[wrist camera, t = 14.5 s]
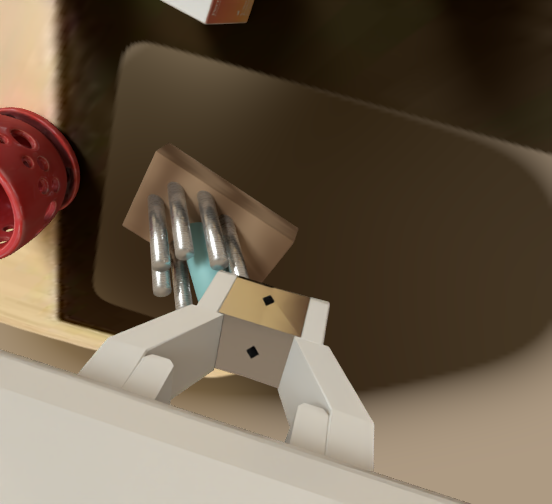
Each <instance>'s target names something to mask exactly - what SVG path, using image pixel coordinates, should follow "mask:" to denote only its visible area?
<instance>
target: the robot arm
mask: <svg viewBox="0 0 552 504" xmlns="http://www.w3.org/2000/svg"><path fill="white" fill-rule="evenodd" d="M329 306H330V304H329V302H327V301H323V300H319V299H316V298H312V297H311V298H310V297H306V296H303V295H299V294H296V293H293V292H289V291H286V290H282V289H279V288H276V287H273V286H270V285H267V284H264V283H261V282H258V281H255V280H252V279H249V278H246V277H242V276H238V275H236V274H233V273H229V272H226V271H223V270H220V271H218V272H217V274H216V275H215V277H214V278H213V280H212V282H211V283H210V285H209V286H208V288H207V290H206V291H205V293H204V295H203V296H202V298H201V299H200V301H199V303H198V304H197V306H195V305H192V304H191V305H188V306H186V307H183V308H181V309H178V310H176V311H173V312H171V313H168V314H166V315H163V316H161V317H158V318H156V319H153V320H151V321H149V322H146V323H144V324H141V325H139V326H136V327H134V328H131V329H129V330H126V331H124V332H121V333H119V334H116V335H114V336H111V337H109V338H107V339H106V341H105V342H104V343H103V344H102V345H101V347H100V348H99V349H98V350H97V351H96V353H95V354H94V355H93V356H92V357H91V359H90V360H89V361H88V362H87V363H86V365H85V366H84V367H83V368H82V369H81V371H80V372H79V373H78V374H75V373H72V372H69V371H66V370H63V369H59V368H56V367H53V366H50V365H48V364H44V363H42V362H38V361H35V360H32V359H29V358H26V357H23V356H20V355H17V354H14V353H11V352H8V351H5V350H2V349H0V504H470V503H467V502H464V501H460V500H458V499H455V498H451V497H449V496H445V495H442V494H439V493H436V492H433V491H430V490H427V489H424V488H421V487H418V486H415V485H412V484H409V483H406V482H403V481H400V480H397V479H394V478H390V477H388V476H384V475H381V474H378V473H375V472H374V423H373V421H372V419H371V418H370V416H369V414H368V412H367V411H366V409H365V408H364V406H363V404H362V402H361V401H360V399H359V397H358V396H357V394H356V392H355V391H354V389H353V387H352V385H351V384H350V382H349V380H348V379H347V377H346V375H345V374H344V372H343V370H342V368H341V367H340V365H339V363H338V362H337V360H336V358H335V357H334V355H333V353H332V351H331V350H330V348H329V347H328V346H325V345H323V343H324V337H325V330H326V325H327V319H328V313H329ZM214 368H216V369H220V370H223V371H227V372H230V373H234V374H237V375H241V376H244V377H247V378H250V379H253V380H256V381H259V382H262V383H264V384H267V385H270V386H273V387H276V388H278V392H279V395H280V398H281V401H282V404H283V407H284V411H285V413H286V417H287V420H288V423H289V426H290V429H289V432H288V434H287V437H286V440H285V442H281V441H279V440H275V439H272V438H269V437H266V436H263V435H260V434H257V433H254V432H251V431H248V430H245V429H242V428H239V427H236V426H233V425H230V424H227V423H224V422H221V421H218V420H215V419H212V418H209V417H206V416H202V415H199V414H196V413H193V412H190V411H187V410H184V409H181V408H178V407H175V406H172V405H170V400H171V399H173V398H174V397H175V396H177V395H178V394H180V393H181V392H183V391H184V390H185V389H187V388H188V387H190V386H191V385H193V384H194V383H196V382H197V381H198V380H200V379H201V378H203V377H204V376H206V375H207V374H209V373H210V372H212V371H213V370H214Z"/></svg>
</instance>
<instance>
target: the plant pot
mask: <svg viewBox="0 0 552 504" xmlns="http://www.w3.org/2000/svg"><path fill="white" fill-rule="evenodd" d="M79 184H80V170H79V164H78V161H77V158H76V155H75V153H74V151H73V149H72V147H71V145H70V144H69V142H68V140H67V139H66V138H65V137H64V135H63V134H62V133H61V132H60V131H59V130H58V129H57V128H56V127H55V126H54V125H53V124H52V123H50V122H49V121H48V120H46V119H45V118H43V117H42V116H40V115H38V114H36V113H34V112H31V111H29V110H25V109H21V108H13V107H9V108H0V242H2V241H7V242H4V243H1V244H0V259H2V258H5V257H7V256H9V255H11V254H12V253H14V252H15V251H17V250H18V249H20V248H21V247H23V246H24V245H25V244H27V243H28V242H29V241H31V240H32V239H33V238H34V237H36V236H37V235H38V234H39V233H40V232H41V231H42V230H43V229H44V228H45V227H46V226H47V225H48V224H49V223H50V222H51V220H52V219H53V218H54V217H55V215H56V214H57V212H58V211H59V210H62V209H64V208H65V207H67V206H68V205H69V204H70V203H71V202H72V201H73V199H74V198H75V196H76V194H77V192H78V189H79ZM8 229H14V230H12V231H9V232H6V230H8Z"/></svg>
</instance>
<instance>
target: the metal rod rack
mask: <svg viewBox="0 0 552 504" xmlns="http://www.w3.org/2000/svg"><path fill="white" fill-rule="evenodd" d="M167 190H168V198H169V207H170V215H171V224H172V232H173V240H174V241H171V242H170V243H169V245H168V236H167V226H166V217H165V207H164V201H163V200H162V198H161V197H159V196H158V195H155V194H151V195H149V196H148V214H149V233H150V249H151V265H152V280H153V293H154V295H156V296H158V297H164V296H167V295H169V294H170V293H171V283H170V273H169V268H170V266H171V268H172V277H173V287H174V296H175V306H176V310H178V309H181V308H183V307H186V306H188V305H191V304H192V297H191V290H190V282H189V276H188V268H187V261H186V260H189V259H191V258H192V257H193V256H194V247H193V241H192V235H191V229H190V223H189V217H188V211H187V205H186V198H185V192H184V189H183V187H182V186H181V185H180V184H179V183H177V182H170V183H169V184H168V185H167ZM197 200H198V205H199V210H200V215H201V220H202V226H203V231H204V236H205V241H206V246H207V251H208V257H209V262H210V267H211V268H212V269H213V270H216V271H220V270H224V269H225V270H226V272H229V273H233V274H236V275H238V276H242V277H246V278H249V275H248V272H247V268H246V264H245V261H244V257H243V254H242V250H241V246H240V243H239V239H238V235H237V232H236V228H235V224H234V221H233V220H232V218H231V217H229V216H227V215H220V216H219V217H218V214H217V210H216V205H215V201H214V198H213V196H212V195H211V194H210V193H209V192H207V191H204V190H202V191H199V192H198V193H197ZM169 250H170V255H169ZM170 259H171V264H170ZM192 305H193V304H192Z"/></svg>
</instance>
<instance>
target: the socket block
mask: <svg viewBox="0 0 552 504" xmlns="http://www.w3.org/2000/svg"><path fill="white" fill-rule="evenodd" d="M170 182H177V183H179V184H180V185H181V186H182V187H183V189H184V192H185V198H186V205H187V211H188V217H189V223H190V224H191V223H195V222H201V223H202V220H201V215H200V210H199V205H198V200H197V193H198V192H199V191H202V190H204V191H207V192H209V193H210V194H211V195H212V196H213V198H214V201H215V205H216V210H217V214H218V217H219V216H220V215H227V216H229V217H231V218H232V220H233V221H234V224H235V228H236V232H237V235H238V239H239V243H240V246H241V250H242V254H243V257H244V261H245V264H246V268H247V272H248V275H249V279H252V280H255V281H258V282H261V283H262V282H263V281H264V280H265V278H266V277H267V276H268V275H269V273H270V272H271V271H272V269H273V268H274V267H275V266H276V264H277V263H278V262H279V261H280V259H281V258H282V257H283V256H284V254H285V253H286V252H287V251H288V249H289V248H290V247H291V246H292V244H293V243H294V241H295V238H296V235H297V232H298V228H297V227H295V226H294V225H292V224H291V223H289V222H288V221H286V220H285V219H283V218H282V217H280V216H279V215H277V214H276V213H274V212H273V211H271V210H270V209H268V208H267V207H265V206H264V205H262V204H261V203H259V202H258V201H256V200H255V199H253V198H252V197H250V196H249V195H247V194H246V193H244V192H243V191H241V190H240V189H238V188H237V187H235V186H234V185H232V184H231V183H229V182H228V181H226V180H225V179H223V178H222V177H220V176H219V175H217V174H216V173H214V172H213V171H211V170H210V169H208V168H207V167H205V166H203V165H202V164H201V163H199V162H198V161H196V160H195V159H193V158H192V157H190V156H189V155H187V154H186V153H184V152H182V151H181V150H180V149H178V148H177V147H175V146H174V145H172V144H171V143H168V144H166V145H164V146H163V147H161V148H160V149H159V150H157V151H156V152H155V154H154V157H153V159H152V161H151V163H150V165H149V168H148V170H147V172H146V174H145V176H144V179H143V181H142V183H141V185H140V188H139V189H138V192H137V194H136V196H135V198H134V201H133V203H132V205H131V207H130V209H129V212H128V214H127V216H126V218H125V220H124V222H123V224H122V225H123V226H124V227H126V228H127V229H129V230H130V231H132V232H134V233H135V234H137V235H138V236H140V237H142V238H143V239H145V240H147V241H148V242H150V233H149V214H148V196H149V195H151V194H155V195H158V196H159V197H161V198H162V200H163V201H164V207H165V217H166V226H167V236H168V245H169V243H170V242H171V241H174V240H173V232H172V224H171V215H170V207H169V198H168V190H167V185H168V184H169V183H170ZM169 255H170V250H169ZM187 266H188V264H187Z"/></svg>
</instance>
